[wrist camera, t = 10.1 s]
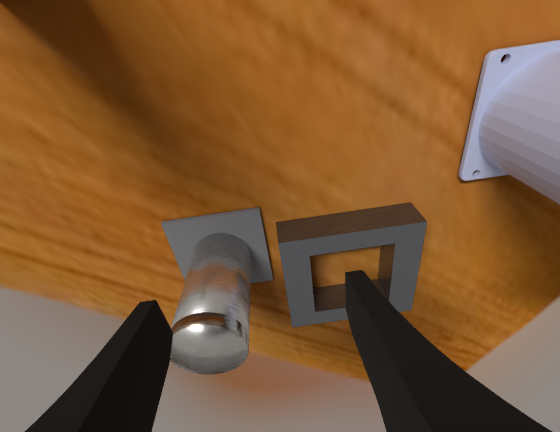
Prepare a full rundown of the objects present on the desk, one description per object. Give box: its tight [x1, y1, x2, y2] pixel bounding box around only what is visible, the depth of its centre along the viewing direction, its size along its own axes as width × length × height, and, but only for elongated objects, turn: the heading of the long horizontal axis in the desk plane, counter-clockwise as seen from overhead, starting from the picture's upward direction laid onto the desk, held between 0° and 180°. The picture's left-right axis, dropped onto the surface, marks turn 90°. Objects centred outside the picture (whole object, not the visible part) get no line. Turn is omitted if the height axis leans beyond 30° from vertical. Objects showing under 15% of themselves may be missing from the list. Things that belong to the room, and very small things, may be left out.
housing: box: [276, 203, 427, 327], centre depth 24 cm, size 10×9×2 cm
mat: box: [161, 207, 273, 283], centre depth 23 cm, size 7×7×1 cm
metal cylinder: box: [170, 233, 251, 374], centre depth 20 cm, size 4×4×8 cm
